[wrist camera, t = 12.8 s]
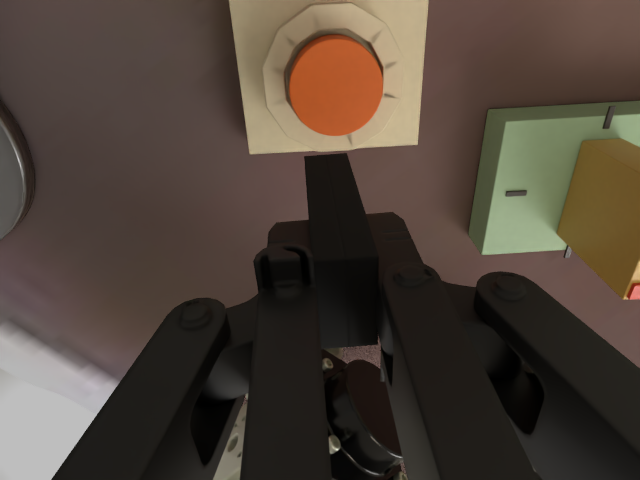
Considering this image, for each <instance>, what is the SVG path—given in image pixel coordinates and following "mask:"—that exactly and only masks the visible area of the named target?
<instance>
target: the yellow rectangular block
mask: <svg viewBox="0 0 640 480" xmlns="http://www.w3.org/2000/svg"><path fill="white" fill-rule="evenodd" d="M556 234H557V235H558V236H559V237H560V238H561V239H562V240H563V241H564V242H565V243H566V244H567V245H568V246H569V247H570V248H571V249H572V250H573V251H574V252H575V253H576V254H577V255H578V256H579V257H580V258H581V259H582V260H583V261H584V262H585V263H586V264H587V265H588V266H589V267H590V268H591V269H592V270H593V271H594V272H595V273H596V274H597V275H598V276H599V277H600V278H602V279H603V280H604V281H605V282H606V283H607V284H608V285H609V286H610V287H611V288H612V289H613V290H614V291H615V292H616V293H617V294H618V295H619V296H620V297H621V298H622V299H629V300H630V299H640V147H638V146H636V145H634V144H632V143H630V142H628V141H626V140H624V139H622V138H620V139H603V140H587V141H582V144H581V148H580V151H579V155H578V158H577V162H576V166H575V169H574V173H573V176H572V180H571V183H570V187H569V191H568V194H567V198H566V201H565V205H564V208H563V212H562V216H561V219H560V223H559V226H558V230H557V233H556Z"/></svg>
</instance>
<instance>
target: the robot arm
mask: <svg viewBox="0 0 640 480" xmlns="http://www.w3.org/2000/svg"><path fill="white" fill-rule="evenodd" d="M304 158H305V172H306V186H307V200H308V214H309V220H302V221H290V222H278V223H276V224H275V225H274V226H273V227H272V228H271V230H270V231H269V233H268V245H267V248H265V249H263V250H262V251H260V252H259V253H258V254H257V255H256V257H255V259H254V261H253V262H254V268H255V274H256V280H257V285H258V294H257V295H256V296H255V297H253V298H252V299H250V300H248V301H247V302H244V303H242V304H239V305H236V306H233V307H230V308H227V309H225V306H224V304H222V303H221V302H219V301H218V300H215V299H211V298H196V299H193V300H189V301H186V302H184V303H182V304H180V305H179V306H177V307H175V308H174V309H173V310H172V311H171V312H170V313H169V314H168V315H167V316H166V318H165V319H164V321H163V322H162V323H161V325H160V326H159V328H158V329H157V330H156V332H155V333H154V335H153V336H152V338H151V339H150V340H149V342H148V343H147V345H146V346H145V348H144V349H143V350H142V352H141V353H140V355H139V356H138V357H137V359H136V360H135V362H134V363H133V365H132V366H131V367H130V369H129V370H128V372H127V373H126V374H125V376H124V377H123V379H122V380H121V382H120V383H119V384H118V386H117V387H116V389H115V390H114V391H113V393H112V394H111V396H110V397H109V399H108V400H107V401H106V403H105V404H104V406H103V407H102V409H101V410H100V411H99V413H98V414H97V416H96V417H95V418H94V420H93V421H92V423H91V424H90V426H89V427H88V428H87V430H86V431H85V433H84V434H83V436H82V437H81V438H80V440H79V441H78V443H77V444H76V446H75V447H74V448H73V450H72V451H71V453H70V454H69V455H68V457H67V458H66V460H65V461H64V463H63V464H62V465H61V467H60V468H59V470H58V471H57V472H56V474H55V475H54V477H53V478H52V480H213V478H214V476H215V473H216V470H217V468H218V465H219V463H220V460H221V458H222V455H223V452H224V450H225V447H226V445H227V442H228V440H229V437H230V435H231V432H232V429H233V427H234V424H235V422H236V419H237V417H238V414H239V411H240V409H241V406H242V404H243V401H244V395H245V394H247V393H248V400H247V410H246V420H245V430H244V440H243V450H242V460H241V470H240V480H332V474H331V462H330V450H329V438H328V426H327V414H326V402H325V390H324V378H323V366H322V354H321V349H331V348H343V347H354V346H366V345H378V335H379V339H380V343H381V369H380V382H383V381H385V382H386V386H387V390H388V395H389V399H390V404H391V408H392V412H393V417H394V421H395V426H396V430H397V434H398V439H399V443H400V447H401V452H402V456H403V461H404V465H405V469H406V474H407V478H408V480H539V479H538V477H537V475H536V473H535V471H536V472H537V473H538V475H539V476H540V477H541V479H542V480H640V368H638V367H637V366H636V365H635V364H634V363H632V362H631V361H630V360H629V359H627V358H626V357H625V356H624V355H622V354H621V353H620V352H619V351H618V350H616V349H615V348H614V347H613V346H611V345H610V344H609V343H608V342H607V341H605V340H604V339H603V338H602V337H600V336H599V335H598V334H597V333H596V332H594V331H593V330H592V329H591V328H589V327H588V326H587V325H586V324H584V323H583V322H582V321H581V320H580V319H578V318H577V317H576V316H575V315H573V314H572V313H571V312H570V311H569V310H567V309H566V308H565V307H564V306H562V305H561V304H560V303H559V302H558V301H556V300H555V299H554V298H553V297H551V296H550V295H549V294H548V293H546V292H545V291H544V290H543V289H542V288H540V287H539V286H538V285H537V284H535V283H534V282H532V281H531V280H529V279H528V278H526V277H524V276H521V275H518V274H515V273H509V272H492V273H488V274H486V275H484V276H482V277H481V278H480V279H479V280H478V282H477V286H476V287H469V286H461V285H455V284H450V283H447V282H444V281H442V280H441V278H440V276H439V275H438V274H437V272H436V271H435V270H434V269H432V268H431V267H429V266H427V265H425V264H423V262H422V259H421V257H420V255H419V253H418V251H417V249H416V246H415V244H414V242H413V240H412V239H411V235H410V233H409V231H408V229H407V227H406V225H405V222H404V220H403V219H402V218H400V217H399V216H397V215H396V214H395V213H393V212H387V213H374V214H365V211H364V207H363V204H362V201H361V198H360V194H359V191H358V188H357V185H356V182H355V178H354V175H353V172H352V169H351V166H350V162H349V159H348V156H347V153H343V154H330V155H317V156H304ZM34 189H35V173H34V166H33V161H32V157H31V153H30V150H29V147H28V145H27V142H26V140H25V138H24V135H23V134H22V132H21V130H20V128H19V126H18V124H17V123H16V121H15V119H14V118H13V116H12V115H11V113H10V112H9V111H8V109H7V108H6V107H5V105H4V104H3V103H2V101H1V100H0V240H1V239H3V238H4V237H5V236H6V235H7V234H8V233H9V232H10V231H12V230H13V229H14V228H15V227H16V226H17V225H18V224H19V223H20V222H21V221H22V220H23V218H24V217H25V215H26V214H27V212H28V210H29V208H30V206H31V203H32V199H33V196H34ZM533 468H534V469H535V471H534V469H533Z"/></svg>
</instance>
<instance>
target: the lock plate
mask: <svg viewBox="0 0 640 480" xmlns="http://www.w3.org/2000/svg"><path fill="white" fill-rule="evenodd" d="M620 138H622V139H624V140H626V141H628V142H630V143H632V144H634V145H636V146H638V147H640V101H625V102H607V103H590V104H572V105H555V106H537V107H520V108H502V109H488V112H487V119H486V125H485V131H484V138H483V144H482V150H481V157H480V163H479V169H478V176H477V182H476V188H475V195H474V201H473V207H472V214H471V220H470V226H469V233H468V235H469V237H470V238H471V240H472V241H473V243H474V244H475V246H476V247H477V249H478V250H479V252H480V253H481V255H489V254H505V253H521V252H537V251H553V250H565V254H564V258H569V257H570V253H571V250H572V249H571V248H570V247H569V246H568V245H567V244H566V243H565V242H564V241H563V240H562V239H561V238H560V237H559V236H558V235H557V234H556V233H557V230H558V226H559V223H560V219H561V216H562V212H563V208H564V205H565V201H566V198H567V194H568V191H569V187H570V183H571V180H572V176H573V173H574V169H575V166H576V162H577V158H578V155H579V151H580V148H581V144H582V141H587V140H603V139H620Z"/></svg>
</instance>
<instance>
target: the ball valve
mask: <svg viewBox="0 0 640 480" xmlns="http://www.w3.org/2000/svg"><path fill="white" fill-rule="evenodd" d="M321 354H322V366H323V378H324V390H325V402H326V414H327V426H328V438H329V450H330V462H331V474H332V480H408V478H407V476H406V475H405V474H404V473H403V472H402V471H401V466H400V464H401V463H402V462H404V461H403V456H402V452H401V447H400V443H399V439H398V434H397V430H396V426H395V421H394V417H393V412H392V408H391V404H390V399H389V395H388V390H387V386H386V382H385V381H383V382H380V369H379V368H378V367H377V366H375V365H373V364H372V363H370V362H367V361H365V360H353V361H351V362H350V363H348V364H347V363H345V362H344V361H342V360H341V357H342V356H343V350H342V348H331V349H321ZM246 398H247V400H248V393H247V394H246ZM246 410H247V403H246V404H244V405H243V406H242V407H241V409H240V411H239V414H238V417H237V419H236V422H235V424H234V427H233V429H232V432H231V435H230V437H229V440H228V442H227V445H226V447H225V450H224V452H223V455H222V458H221V460H220V463H219V465H218V468H217V470H216V473H215V476H214V478H213V480H240V470H241V460H242V450H243V440H244V430H245V420H246Z"/></svg>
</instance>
